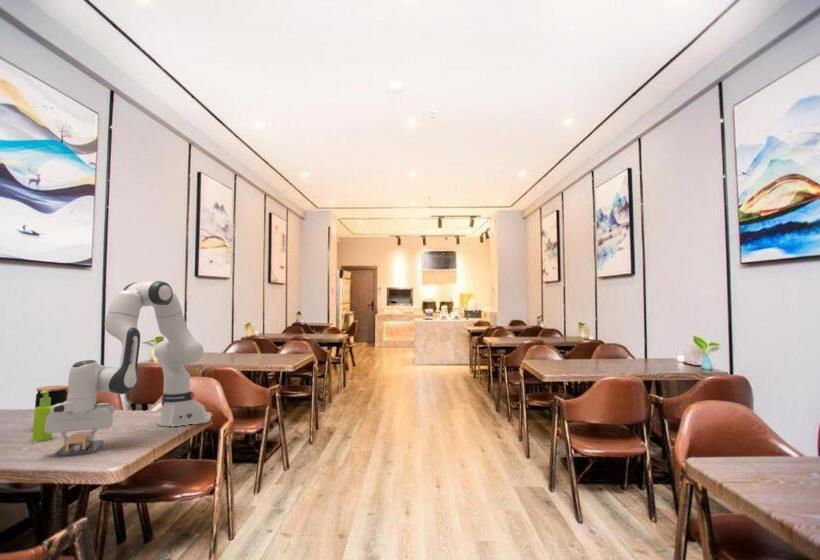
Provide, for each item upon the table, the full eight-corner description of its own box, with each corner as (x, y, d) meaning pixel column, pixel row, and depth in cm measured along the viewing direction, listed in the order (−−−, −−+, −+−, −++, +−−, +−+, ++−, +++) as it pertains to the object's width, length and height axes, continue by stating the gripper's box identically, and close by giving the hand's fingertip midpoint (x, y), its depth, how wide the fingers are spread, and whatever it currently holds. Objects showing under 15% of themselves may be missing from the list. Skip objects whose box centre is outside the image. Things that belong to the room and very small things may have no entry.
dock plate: (103, 442, 168) (104, 429, 168) (95, 452, 155) (96, 439, 156) (65, 446, 162) (66, 433, 163) (54, 457, 150) (55, 443, 150)
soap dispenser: (29, 443, 166) (33, 392, 167) (35, 438, 172) (39, 389, 173) (48, 441, 168) (52, 390, 170) (53, 436, 174) (57, 388, 176)
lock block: (90, 442, 161) (91, 431, 162) (84, 449, 153) (85, 438, 154) (72, 444, 159) (73, 433, 159) (65, 451, 151) (66, 439, 151)
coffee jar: (46, 432, 181) (49, 389, 183) (26, 430, 183) (30, 388, 185) (70, 425, 192) (73, 385, 193) (51, 424, 194) (55, 384, 195)
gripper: (116, 400, 165) (114, 436, 164) (50, 405, 156) (47, 443, 155) (113, 403, 159) (110, 441, 158) (44, 408, 150) (41, 448, 149)
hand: (78, 442), depth 156 cm, fingers closed on lock block, 6 cm apart
